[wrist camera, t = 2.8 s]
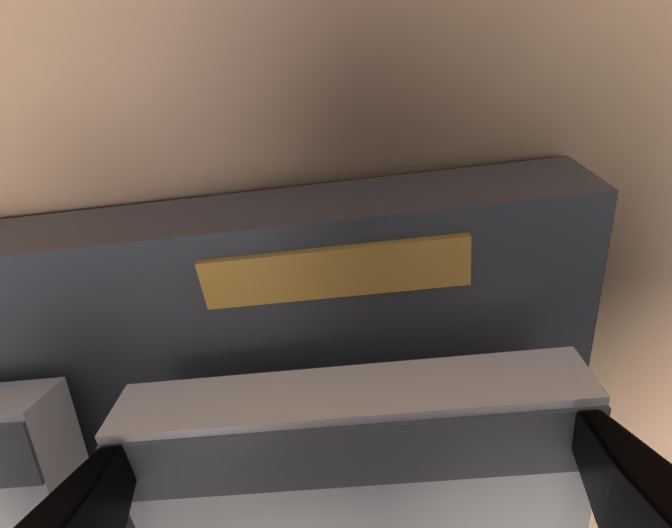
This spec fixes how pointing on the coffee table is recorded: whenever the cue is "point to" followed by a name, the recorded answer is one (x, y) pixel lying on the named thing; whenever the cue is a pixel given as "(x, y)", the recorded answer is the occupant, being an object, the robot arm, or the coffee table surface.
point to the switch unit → (304, 278)
